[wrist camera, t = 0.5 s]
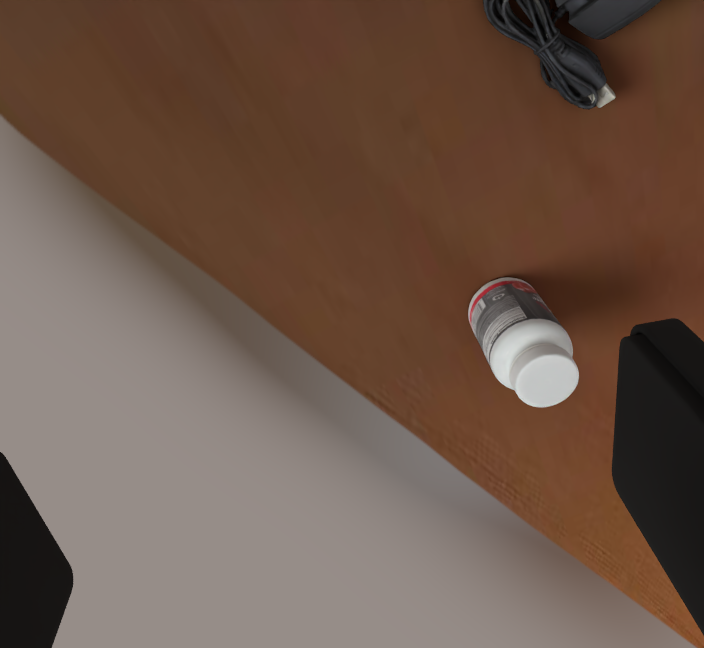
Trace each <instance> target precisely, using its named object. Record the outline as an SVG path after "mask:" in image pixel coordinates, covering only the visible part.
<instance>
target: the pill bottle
mask: <svg viewBox="0 0 704 648" xmlns="http://www.w3.org/2000/svg"><path fill="white" fill-rule="evenodd" d="M468 317H469V322H470V325H471V327H472V330H473V332H474V334H475V336H476V338H477V340H478V342H479V344H480V346H481V348H482V350H483V352H484V354H485V357H486V359H487V362H488V363H489V365H490V367H491V369H492V371H493V373H494V375H495V376H496V378H497V379H498V380H499V381H500V382H501V383H502V384H503V385H505V386H506V387H508V388H510V389H513V390H515V392H516V393H517V395H518V397H519V398H520V399H521V400H522V401H523V402H525V403H526V404H528V405H531V406H534V407H549V406H552V405H556V404H558V403H560V402H562V401H563V400H565V399H566V398H567V397H568V396H570V394H571V393H572V392H573V391H574V389H575V388H576V386H577V383H578V379H579V371H578V368H577V365H576V364H575V362H574V360H573V359H572V355H573V347H572V343H571V340H570V338H569V336H568V334H567V332H566V331H565V329H564V328H563V327H562V326H561V324H560V323H559V322H558V320H557V319H556V318H555V316H554V315H553V313H552V312H551V311H550V310H549V308H548V307H547V306H546V304H545V303H544V301H543V300H542V299H541V297H540V296H539V295H538V293H537V292H536V291H535V290H534V288H533V287H532V286H531V285H530V284H528V283H527V282H525V281H523V280H521V279H517V278H511V277H505V278H499V279H496V280H493V281H490V282H489V283H487V284H485V285H484V286H483V287H481V288H480V290H479V291H478V292H477V293H476V294H475V295H474V296H473V298H472V300H471V303H470V306H469V311H468Z"/></svg>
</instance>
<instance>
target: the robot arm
mask: <svg viewBox="0 0 704 648" xmlns="http://www.w3.org/2000/svg"><path fill="white" fill-rule="evenodd" d="M612 476H613V481H614V485H615V487H616V490H617V492H618V494H619V496H620V498H621V499H622V501H623V503H624V504H625V506H626V508H627V509H628V511H629V513H630V514H631V516H632V518H633V519H634V521H635V522H636V524H637V526H638V527H639V529H640V531H641V532H642V534H643V536H644V537H645V539H646V541H647V542H648V544H649V546H650V547H651V549H652V551H653V552H654V554H655V556H656V557H657V559H658V561H659V562H660V564H661V565H662V567H663V569H664V570H665V572H666V574H667V575H668V577H669V579H670V580H671V582H672V584H673V585H674V587H675V589H676V590H677V592H678V594H679V595H680V597H681V599H682V600H683V602H684V603H685V605H686V607H687V608H688V610H689V612H690V613H691V615H692V617H693V618H694V620H695V622H696V623H697V625H698V627H699V628H700V630H701V632H702V633H703V635H704V342H703V341H702V340H701V339H700V338H699V337H698V336H697V335H696V334H695V333H693V332H692V331H691V330H690V329H689V328H688V327H687V326H686V325H685V324H684V323H683V322H681V321H680V320H678V319H674V318H672V319H666V320H661V321H655V322H650V323H644V324H639V325H636V326H634V327H633V329H632V331H631V334H630V336H628V337H624V338H622V340H621V342H620V350H619V365H618V381H617V397H616V412H615V428H614V444H613V459H612ZM72 587H73V573H72V569H71V566H70V564H69V563H68V561H67V559H66V558H65V556H64V554H63V552H62V551H61V549H60V547H59V546H58V544H57V543H56V541H55V539H54V538H53V536H52V534H51V533H50V531H49V529H48V527H47V526H46V524H45V522H44V521H43V519H42V517H41V516H40V514H39V512H38V511H37V509H36V507H35V506H34V504H33V502H32V501H31V499H30V497H29V496H28V494H27V492H26V491H25V489H24V487H23V486H22V484H21V483H20V481H19V479H18V477H17V476H16V474H15V472H14V471H13V469H12V467H11V465H10V464H9V462H8V460H7V459H6V457H5V456H4V455H3V454H2V453H1V452H0V648H52V645H53V642H54V639H55V636H56V634H57V631H58V628H59V625H60V623H61V620H62V617H63V614H64V611H65V608H66V606H67V603H68V600H69V597H70V594H71V591H72Z"/></svg>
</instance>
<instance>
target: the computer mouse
mask: <svg viewBox="0 0 704 648" xmlns="http://www.w3.org/2000/svg"><path fill="white" fill-rule="evenodd" d="M508 1H509V0H483V4H484V10H485V13H486V16H487V19H488V20H489V22H490V23H491V24H492V25H493V26H494V27H495V28H496V29H497V30H498V31H499V32H500V33H502V34H503V35H505V36H507V37H509V38H511V39H513V40H515V41H518V42H520V43H522V44H524V45H526V46H528V47H530V48H531V49H533V50H534V54H535V55H537V56H538V57H539V58H540V67H541V75H542V78H543V80H544V81H545V83H546V84H547V85H548V86H549V87H551V88H553V89H557V90H558V92H559V93H560V95H561V96H562V97H563V98H564V99H565V100H567V101H568V102H569V103H571V104H574V105H577V106H578V107H579V108H583V109H591V108H593V107H595V106H597V107H598V108H601V107H602V106H603V105H605V104H607V103H609V102H610V101H612V100H613V99H615V97H616V96H615V93H614V92H613V91H612V89H611V88H610V87H609V86H608V84H606V80H607V79H606V77H605V75H604V72H603V70H602V68H601V64H600V61H599V60H598V58H597V56H596V55H595V54H594V53H593V52H592V51H591V50H590V49H588V48H587V47H585V46H584V45H581V44H580V43H578V42H576V41H574V40H572V39H570V38H567V37H566V36H564V35H562V34H561V33H560V29H558V28H556V27H555V26H554V25H555V22H556V21H557V19H559V18H561V17H562V16H563V15H564V14H565V12H567V11H569V18H570V19H569V21H568V22H569V23H570V24H571V25H572V26H574V27H575V28H577V29H578V30H579V31H581V32H582V33H584V34H585V35H587V36H589V37H591V38H593V39H604V38H606V37H608V36H610V35H611V34H613V33H615V32H616V31H618V30H620V29H622V28H623V27H625V26H626V25H628V24H629V23H631V22H632V21H634V20H635V19H637V18H639V17H640V16H642V15H643V14H644V13H646V12H647V11H649V10H650V9H651V8H653V7H654V6H655V5H656V4H658V3H659V2H660V1H661V0H555V2H556V5H557V7H559V8H558V10H557V11H555V12H554V14H555V16H554V18H553V19H552V20H551V15H552V12H553V9H551V10H550V8H549V6H550V4H549V0H515V1H516V2H517V3H518V5H519V6H520V7H521V8H522V10H523V11H524V12H525V14H526V15H527V16H528V18H529V19H530V21H531V22H532V23H533V25H534V27H533V28H530V27H529V26H527V25H526V24H525V23H523V22H522V20H520V19H519V18H517V16H516V15H515V14H514V13H513V11H512V9H511V7H510V4H509V2H508ZM544 66H545V67H546V69H547V71H548V73H549V75H550V77H551V80H552V81H549V80H548V78H547V74H546V70H545V67H544ZM589 104H590V105H589Z"/></svg>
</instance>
